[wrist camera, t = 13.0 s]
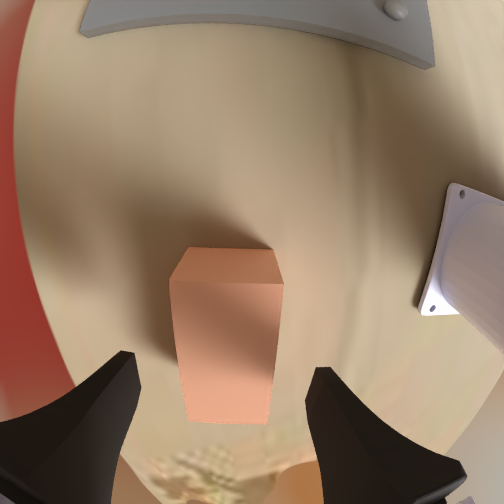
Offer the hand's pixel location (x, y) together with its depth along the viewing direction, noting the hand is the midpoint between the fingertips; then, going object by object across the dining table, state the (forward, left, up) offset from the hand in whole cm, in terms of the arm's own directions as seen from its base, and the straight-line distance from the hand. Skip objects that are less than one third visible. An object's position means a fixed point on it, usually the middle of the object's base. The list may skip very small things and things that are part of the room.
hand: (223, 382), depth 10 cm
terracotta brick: (0, 0, -5) cm, 5 cm away
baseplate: (0, -22, -5) cm, 22 cm away
